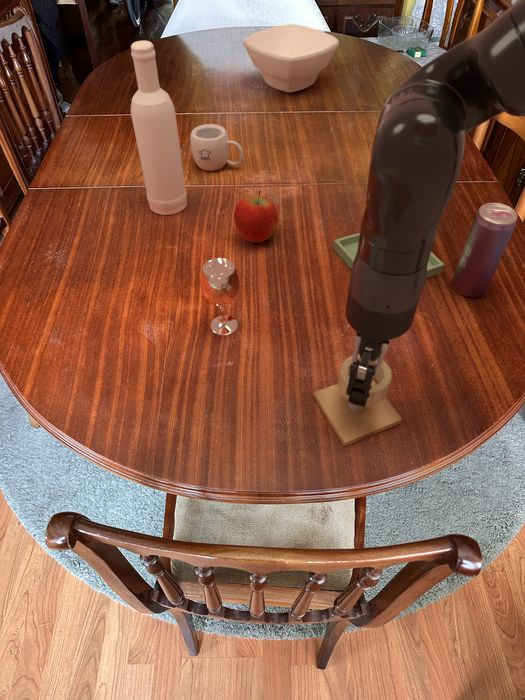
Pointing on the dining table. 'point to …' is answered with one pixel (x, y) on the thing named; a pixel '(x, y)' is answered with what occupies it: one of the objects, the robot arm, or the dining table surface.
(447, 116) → the robot arm
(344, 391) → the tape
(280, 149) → the dining table surface
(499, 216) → the beverage can
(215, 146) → the mug
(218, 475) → the dining table surface
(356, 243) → the tray
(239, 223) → the apple
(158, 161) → the bottle
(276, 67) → the bowl
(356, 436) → the peg stand
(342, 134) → the dining table surface
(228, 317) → the wineglass
